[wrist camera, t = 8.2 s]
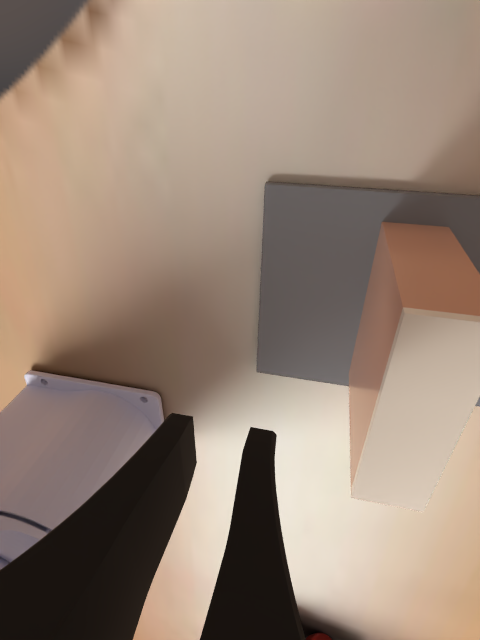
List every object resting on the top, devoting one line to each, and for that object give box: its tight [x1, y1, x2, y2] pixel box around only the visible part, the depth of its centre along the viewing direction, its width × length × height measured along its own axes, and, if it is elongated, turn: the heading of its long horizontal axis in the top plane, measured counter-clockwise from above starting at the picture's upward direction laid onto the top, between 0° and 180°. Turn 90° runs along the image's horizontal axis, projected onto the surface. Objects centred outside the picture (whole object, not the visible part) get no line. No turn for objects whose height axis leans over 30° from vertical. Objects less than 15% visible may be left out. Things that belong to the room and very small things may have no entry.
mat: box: [257, 182, 480, 406], centre depth 17 cm, size 18×10×1 cm, turn 90°
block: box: [349, 222, 480, 512], centre depth 15 cm, size 2×8×7 cm, turn 0°
